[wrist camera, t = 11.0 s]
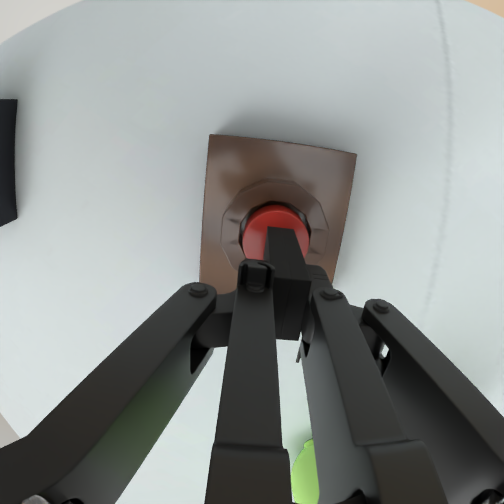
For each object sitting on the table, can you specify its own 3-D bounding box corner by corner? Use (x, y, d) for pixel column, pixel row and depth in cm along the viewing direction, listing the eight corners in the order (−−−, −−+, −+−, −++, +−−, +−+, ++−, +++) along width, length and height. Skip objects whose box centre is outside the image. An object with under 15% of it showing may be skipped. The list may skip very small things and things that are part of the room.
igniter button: (247, 200, 19) (246, 207, 17) (309, 208, 19) (314, 215, 18) (241, 259, 21) (239, 270, 19) (299, 266, 21) (303, 277, 19)
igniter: (214, 134, 21) (204, 133, 17) (348, 152, 21) (366, 155, 17) (203, 283, 25) (194, 308, 22) (321, 295, 25) (330, 321, 22)
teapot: (427, 450, 36) (452, 522, 21) (305, 486, 39) (311, 564, 24) (444, 351, 28) (508, 455, 13) (263, 408, 31) (263, 537, 16)
